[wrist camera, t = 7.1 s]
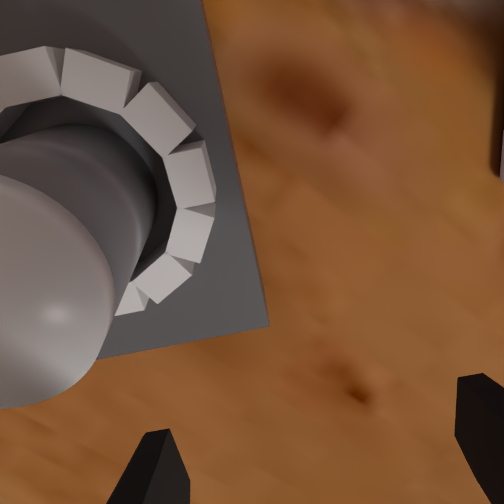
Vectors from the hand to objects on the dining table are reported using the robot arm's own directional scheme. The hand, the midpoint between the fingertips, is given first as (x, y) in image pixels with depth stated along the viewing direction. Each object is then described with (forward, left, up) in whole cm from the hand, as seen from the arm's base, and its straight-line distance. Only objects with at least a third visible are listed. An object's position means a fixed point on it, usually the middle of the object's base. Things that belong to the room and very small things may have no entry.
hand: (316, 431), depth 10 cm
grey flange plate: (+6, -6, -9) cm, 12 cm away
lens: (+6, -6, -6) cm, 10 cm away
